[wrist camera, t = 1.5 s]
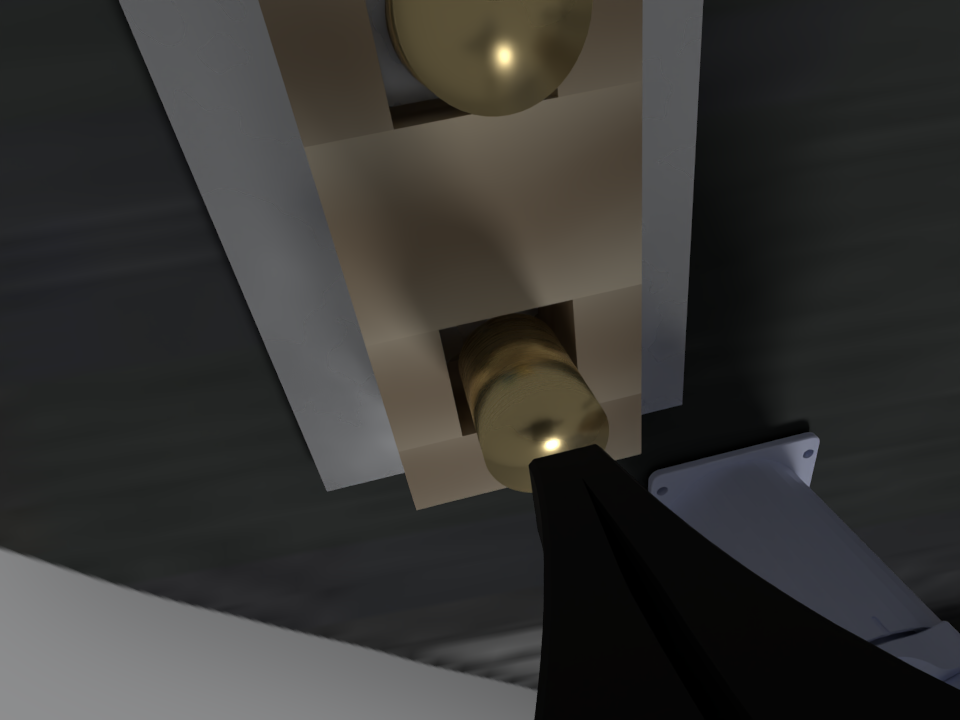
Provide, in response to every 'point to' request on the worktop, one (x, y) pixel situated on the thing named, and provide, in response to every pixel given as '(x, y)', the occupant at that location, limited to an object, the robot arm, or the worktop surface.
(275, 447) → the worktop surface
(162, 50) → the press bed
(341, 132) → the housing
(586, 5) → the pin
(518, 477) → the pin
